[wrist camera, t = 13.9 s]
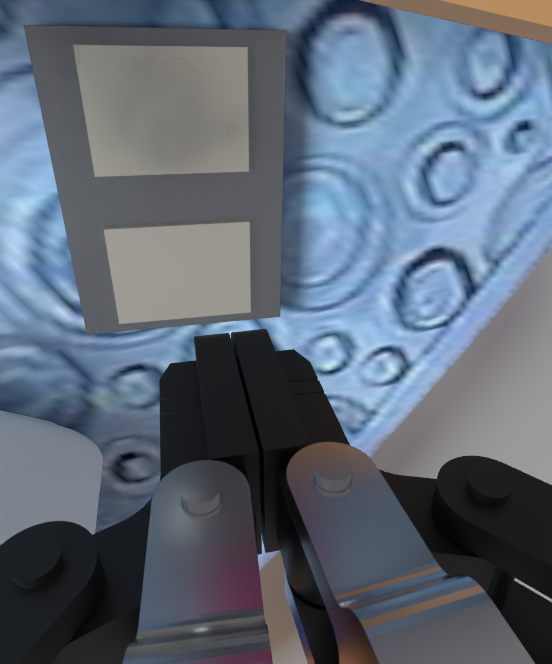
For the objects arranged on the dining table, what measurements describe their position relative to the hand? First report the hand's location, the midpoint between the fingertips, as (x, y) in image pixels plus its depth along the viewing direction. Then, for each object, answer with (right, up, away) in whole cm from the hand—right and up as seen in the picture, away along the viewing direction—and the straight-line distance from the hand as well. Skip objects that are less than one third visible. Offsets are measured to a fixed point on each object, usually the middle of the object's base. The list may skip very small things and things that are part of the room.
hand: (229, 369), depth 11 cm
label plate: (-3, +7, +11) cm, 13 cm away
